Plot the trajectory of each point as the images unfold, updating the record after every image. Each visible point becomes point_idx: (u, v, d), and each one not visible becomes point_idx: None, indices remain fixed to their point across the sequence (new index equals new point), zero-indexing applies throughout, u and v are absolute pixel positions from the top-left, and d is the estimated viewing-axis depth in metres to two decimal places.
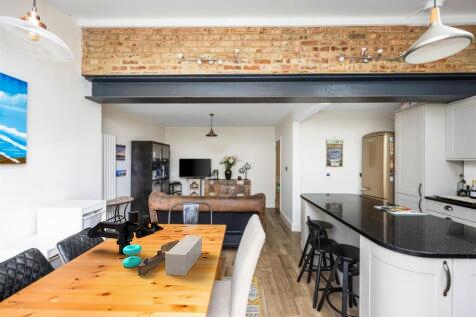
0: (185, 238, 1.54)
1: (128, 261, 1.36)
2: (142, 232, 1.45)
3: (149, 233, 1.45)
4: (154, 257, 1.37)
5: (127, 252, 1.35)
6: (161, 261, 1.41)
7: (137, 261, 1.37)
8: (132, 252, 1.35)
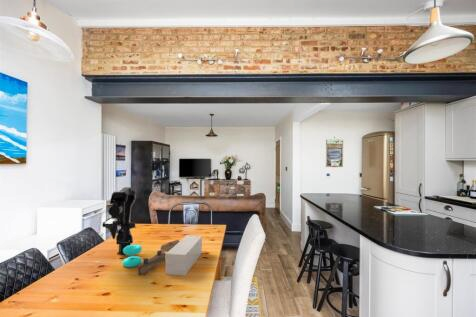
0: (185, 238, 1.54)
1: (128, 261, 1.36)
2: None
3: None
4: (154, 257, 1.37)
5: (127, 252, 1.35)
6: (161, 261, 1.41)
7: (137, 261, 1.37)
8: (132, 252, 1.35)
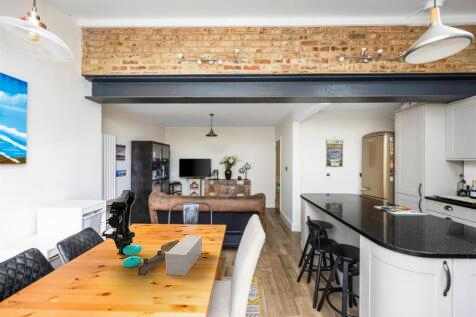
0: (185, 238, 1.54)
1: (128, 261, 1.36)
2: None
3: None
4: (154, 257, 1.37)
5: (127, 252, 1.35)
6: (161, 261, 1.41)
7: (137, 261, 1.37)
8: (132, 252, 1.35)
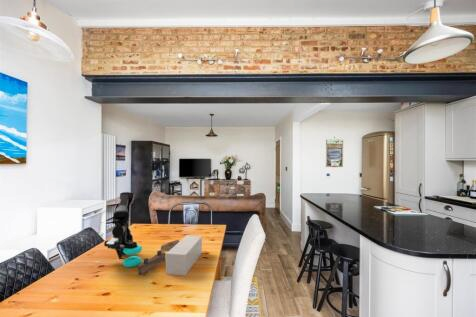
0: (185, 238, 1.54)
1: (128, 261, 1.36)
2: None
3: None
4: (154, 257, 1.37)
5: (127, 252, 1.35)
6: (161, 261, 1.41)
7: (137, 261, 1.37)
8: (132, 252, 1.35)
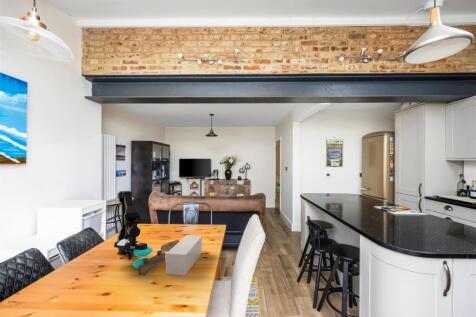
0: (185, 238, 1.55)
1: (139, 262, 1.34)
2: None
3: None
4: (154, 257, 1.37)
5: (138, 253, 1.33)
6: (161, 261, 1.41)
7: None
8: (143, 253, 1.33)
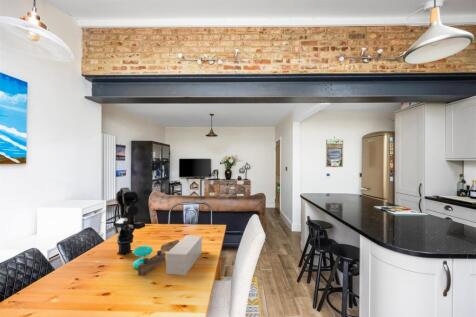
0: (185, 238, 1.55)
1: (139, 263, 1.34)
2: None
3: None
4: (154, 257, 1.37)
5: (138, 253, 1.33)
6: (161, 261, 1.41)
7: None
8: (143, 253, 1.33)
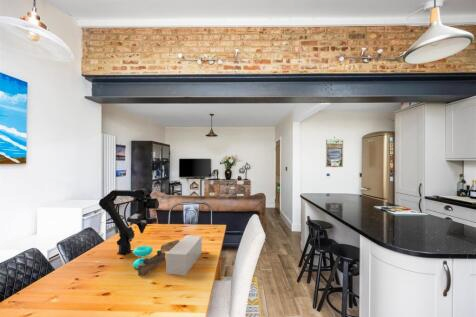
0: (185, 238, 1.55)
1: (139, 263, 1.34)
2: None
3: None
4: (154, 257, 1.37)
5: (138, 253, 1.33)
6: (161, 261, 1.41)
7: None
8: (143, 253, 1.33)
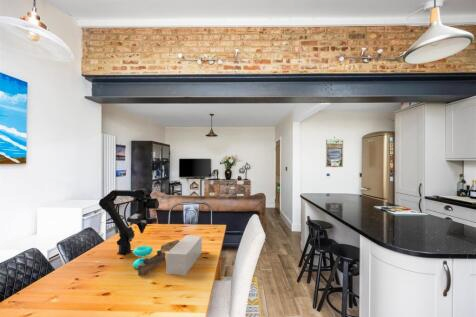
0: (185, 238, 1.55)
1: (139, 263, 1.34)
2: None
3: None
4: (154, 257, 1.37)
5: (138, 253, 1.33)
6: (161, 261, 1.41)
7: None
8: (143, 253, 1.33)
